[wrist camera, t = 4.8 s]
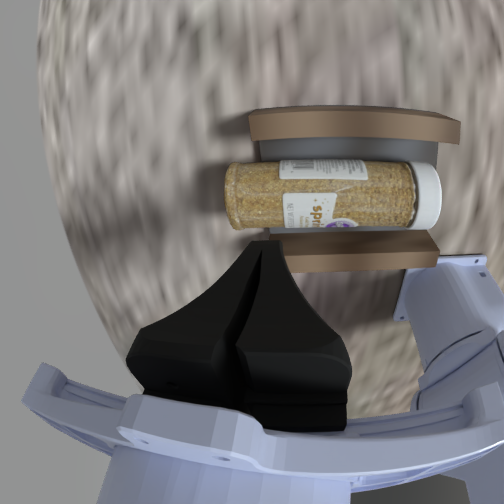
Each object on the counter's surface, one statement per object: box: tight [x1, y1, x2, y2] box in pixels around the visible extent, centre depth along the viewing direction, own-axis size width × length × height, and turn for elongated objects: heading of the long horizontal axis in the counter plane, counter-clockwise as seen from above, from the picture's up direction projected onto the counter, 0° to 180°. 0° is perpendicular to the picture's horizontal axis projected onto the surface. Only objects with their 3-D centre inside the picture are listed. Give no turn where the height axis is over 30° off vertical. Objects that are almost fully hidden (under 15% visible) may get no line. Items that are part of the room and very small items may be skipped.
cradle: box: [248, 105, 461, 273], centre depth 18 cm, size 13×11×4 cm
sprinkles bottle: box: [224, 159, 442, 230], centre depth 17 cm, size 5×5×13 cm
